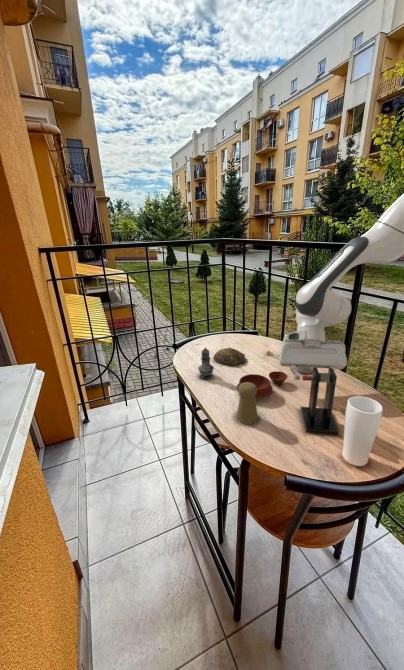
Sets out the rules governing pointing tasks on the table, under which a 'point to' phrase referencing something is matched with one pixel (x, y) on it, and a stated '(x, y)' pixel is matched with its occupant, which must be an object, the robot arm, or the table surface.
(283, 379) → the pottery
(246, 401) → the olive pawn figure
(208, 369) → the grey tall knobbed piece
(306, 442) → the table surface
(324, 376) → the lever
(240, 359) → the brown rounded lump
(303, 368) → the soupspoon
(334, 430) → the bracket
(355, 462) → the drinking glass
